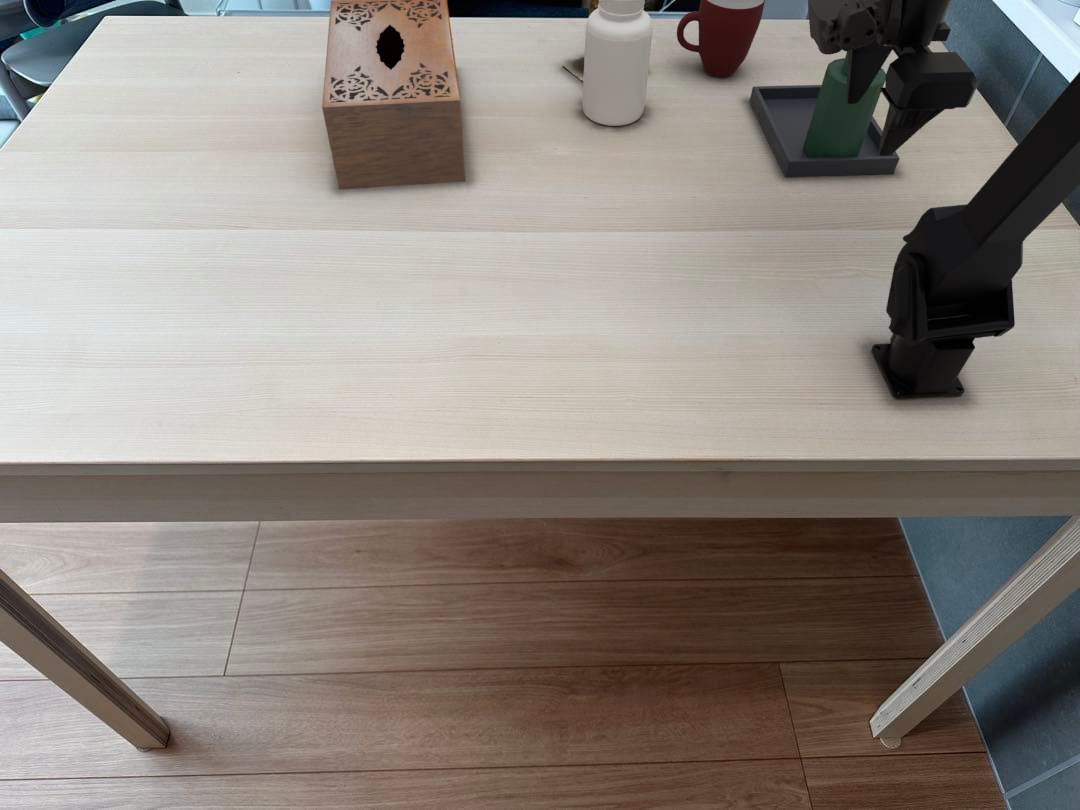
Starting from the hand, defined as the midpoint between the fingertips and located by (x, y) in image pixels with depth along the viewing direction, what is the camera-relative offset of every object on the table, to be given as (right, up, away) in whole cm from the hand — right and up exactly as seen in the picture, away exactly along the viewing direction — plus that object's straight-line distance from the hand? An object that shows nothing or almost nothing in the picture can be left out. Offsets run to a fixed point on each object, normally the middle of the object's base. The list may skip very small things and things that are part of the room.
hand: (867, 128), depth 76 cm
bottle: (+4, +4, +20) cm, 20 cm away
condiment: (-23, +19, +33) cm, 45 cm away
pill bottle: (-22, +11, +26) cm, 36 cm away
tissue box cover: (-49, +8, +23) cm, 55 cm away
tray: (+3, +7, +23) cm, 24 cm away
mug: (-8, +19, +34) cm, 40 cm away
